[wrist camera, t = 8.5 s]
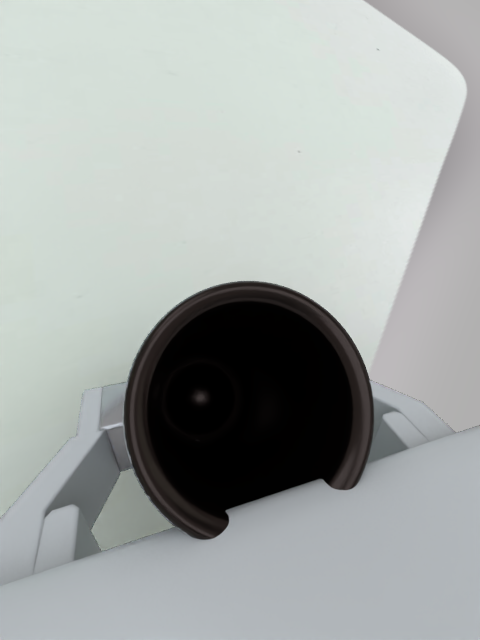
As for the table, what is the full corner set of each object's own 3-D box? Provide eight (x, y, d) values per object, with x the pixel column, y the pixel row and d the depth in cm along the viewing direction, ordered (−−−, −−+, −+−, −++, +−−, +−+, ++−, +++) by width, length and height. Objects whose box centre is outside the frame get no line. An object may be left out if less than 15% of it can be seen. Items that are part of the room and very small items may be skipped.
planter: (252, 364, 16) (387, 315, 6) (233, 456, 15) (366, 574, 5) (166, 341, 15) (167, 247, 6) (138, 437, 14) (76, 533, 4)
